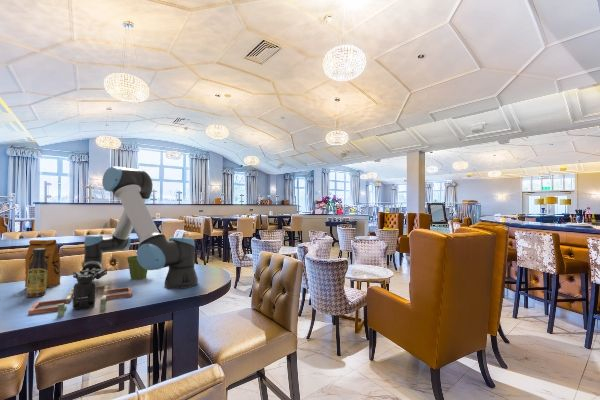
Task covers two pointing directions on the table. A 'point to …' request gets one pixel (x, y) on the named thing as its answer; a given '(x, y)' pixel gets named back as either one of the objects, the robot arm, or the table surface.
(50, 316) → the table surface
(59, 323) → the table surface
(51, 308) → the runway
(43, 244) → the coffee package
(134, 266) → the plant pot
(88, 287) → the supplement bottle
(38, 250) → the sauce bottle
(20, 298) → the table surface
